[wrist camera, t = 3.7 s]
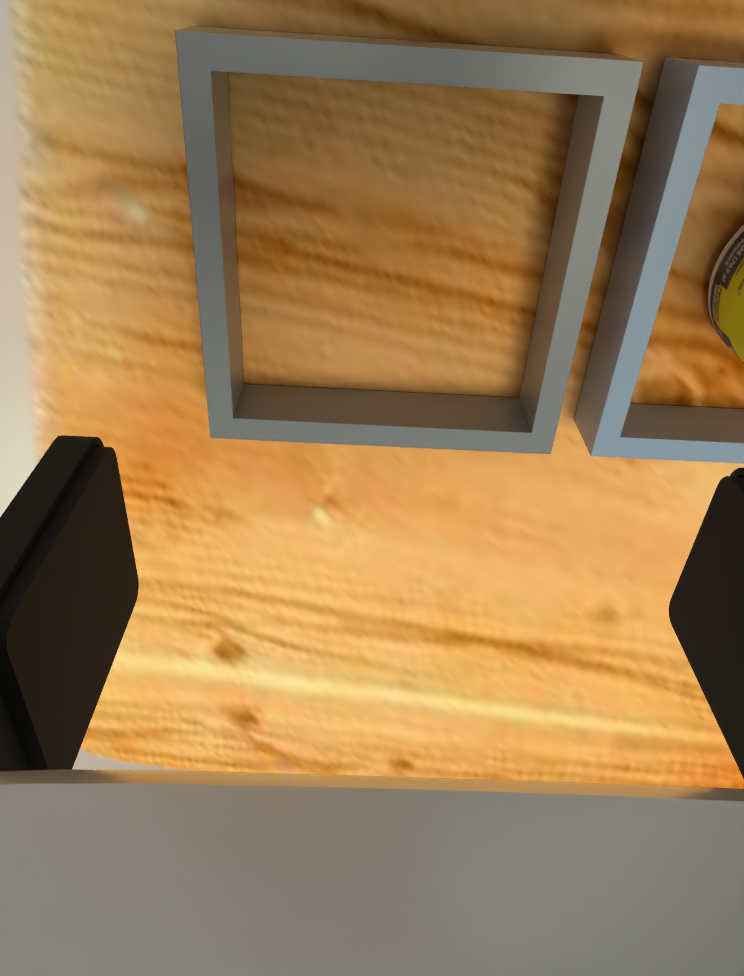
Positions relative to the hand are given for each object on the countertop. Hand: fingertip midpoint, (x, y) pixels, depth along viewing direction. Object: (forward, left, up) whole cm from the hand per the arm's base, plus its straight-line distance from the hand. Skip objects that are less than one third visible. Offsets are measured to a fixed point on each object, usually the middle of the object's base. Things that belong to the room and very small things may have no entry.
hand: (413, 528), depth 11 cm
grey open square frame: (0, 0, -14) cm, 14 cm away
